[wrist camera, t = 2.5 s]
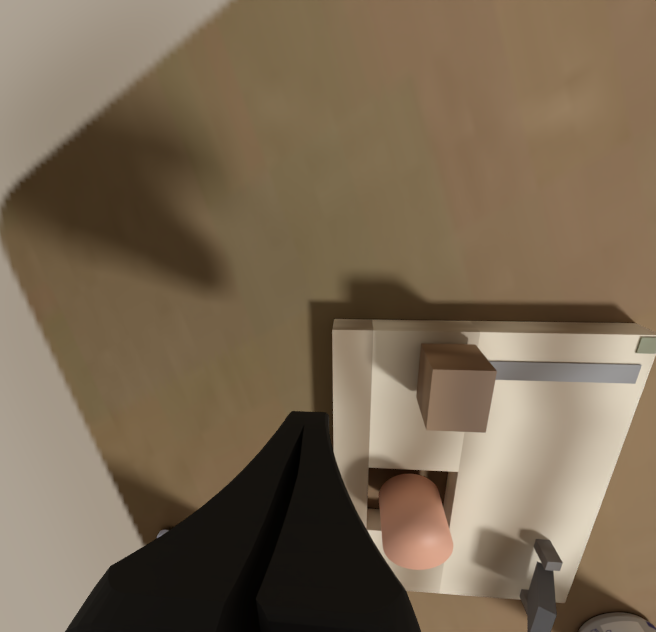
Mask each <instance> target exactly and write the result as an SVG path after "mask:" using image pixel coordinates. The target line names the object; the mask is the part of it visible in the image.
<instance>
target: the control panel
mask: <svg viewBox="0 0 656 632" xmlns="http://www.w3.org/2000/svg"><path fill="white" fill-rule="evenodd" d="M421 343H428V344H476V346H477V347H478V348H479V349H480V351H481V352H482V353H483V354H484V356H485V357H486V358H487V359H488V361H489V362H490V363H491V364H492V365H493V367H494V368H495V369H496V370H497V374H496V379H495V385H494V390H493V396H492V401H491V407H490V412H489V417H488V423H487V428H486V433H480V432H455V431H430V430H426V428H425V425H424V421H423V418H422V415H421V411H420V408H419V405H418V401H417V398H416V394H417V383H418V372H419V361H420V350H421ZM332 353H333V443H334V455H335V459H336V462H337V465H338V468H339V471H340V474H341V476H342V479H343V482H344V484H345V487H346V489H347V491H348V494H349V496H350V498H351V500H352V502H353V504H354V506H355V509H356V511H357V513H358V515H359V517H360V518H361V520H362V522H363V524H364V525H365V527H366V529H367V531H368V533H369V534H370V536H371V538H372V540H373V542H374V543H375V545H376V546H377V548H378V550H379V551H380V553H381V554H382V556H383V558H384V559H385V561H386V562H387V564H388V565H389V567H390V568H391V569H392V571H393V572H394V574H395V575H396V577H397V578H398V579H399V581H400V582H401V584H402V585H403V586H404V588H405V590H406V591H416V592H429V593H442V594H455V595H467V596H480V597H493V598H506V599H518V600H521V601H522V604H523V606H524V608H525V611H526V613H527V616H528V609H527V594H528V590H529V587H530V584H531V580H532V577H533V574H534V570H535V567H536V564H537V562H540V563H542V565H543V567H544V569H545V570H551V571H553V572H554V586H555V600H556V602H557V603H565V601H566V599H567V596H568V593H569V590H570V588H571V585H572V582H573V579H574V577H575V574H576V571H577V569H578V566H579V563H580V560H581V558H582V555H583V552H584V549H585V547H586V544H587V541H588V539H589V536H590V533H591V530H592V528H593V525H594V522H595V519H596V517H597V514H598V511H599V508H600V506H601V503H602V500H603V498H604V495H605V492H606V489H607V487H608V484H609V481H610V478H611V476H612V473H613V470H614V467H615V465H616V462H617V459H618V457H619V454H620V451H621V448H622V446H623V443H624V440H625V437H626V435H627V432H628V429H629V426H630V424H631V421H632V418H633V416H634V413H635V410H636V407H637V405H638V402H639V399H640V396H641V394H642V391H643V388H644V386H645V383H646V380H647V377H648V375H649V372H650V369H651V366H652V364H653V361H654V358H655V355H656V332H655V331H652V330H650V329H648V328H646V327H644V326H641V325H639V324H637V323H587V322H515V321H443V320H372V319H334V323H333V328H332ZM369 468H389V469H409V470H430V471H448V476H447V483H446V490H445V497H444V504H443V508H444V512H445V516H446V519H447V523H448V526H449V530H450V533H451V537H452V540H453V552H452V554H451V556H450V557H449V558H448V559H447V560H446V561H445V562H444V563H442V564H441V565H439V566H437V567H434V568H430V569H425V570H413V569H407V568H403V567H401V566H398V565H396V564H395V563H393V562H392V561H391V560H389V559H388V557H387V556H386V555H385V553H384V551H383V545H382V532H381V519H380V509H367V498H368V470H369Z"/></svg>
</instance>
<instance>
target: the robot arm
mask: <svg viewBox="0 0 656 632" xmlns="http://www.w3.org/2000/svg"><path fill="white" fill-rule="evenodd" d="M65 632H421V630H420V627H419V624H418V621H417V618H416V616H415V613H414V610H413V608H412V605H411V603H410V600H409V597H408V595H407V592H406V590H405V588H404V586H403V585H402V584H401V582H400V581H399V579H398V578H397V577H396V575H395V574H394V572H393V571H392V569H391V568H390V567H389V565H388V564H387V562H386V561H385V559H384V558H383V556H382V554H381V553H380V551H379V550H378V548H377V546H376V545H375V543H374V542H373V540H372V538H371V536H370V534H369V533H368V531H367V529H366V527H365V525H364V524H363V522H362V520H361V518H360V517H359V515H358V513H357V511H356V509H355V506H354V504H353V502H352V500H351V498H350V496H349V494H348V491H347V489H346V487H345V484H344V482H343V479H342V476H341V474H340V471H339V468H338V465H337V462H336V459H335V455H334V452H333V448H332V444H331V440H330V434H329V415H328V414H327V413H326V412H300V411H292V412H291V413H290V414H289V415H288V416H287V418H286V419H285V421H284V422H283V423H282V425H281V426H280V427H279V429H278V430H277V431H276V433H275V434H274V435H273V436H272V438H271V439H270V440H269V441H268V442H267V444H266V445H265V446H264V447H263V449H262V450H261V451H260V452H259V453H258V454H257V455H256V456H255V458H254V459H253V460H252V461H251V462H250V463H249V464H248V465H247V466H246V467H245V468H244V469H243V470H242V471H241V472H240V473H239V474H238V475H237V476H236V477H235V478H234V479H233V480H232V481H231V482H230V483H229V484H228V485H227V486H226V487H225V488H223V489H222V490H221V491H220V492H219V493H218V494H217V495H215V496H214V497H213V498H212V499H211V500H209V501H208V502H207V503H206V504H205V505H203V506H202V507H201V508H200V509H198V510H197V511H196V512H194V513H193V514H192V515H190V516H189V517H188V518H186V519H185V520H183V521H182V522H181V523H179V524H178V525H176V526H175V527H173V528H172V529H171V530H161V531H160V532H159V534H158V535H157V539H155V540H154V541H152V542H151V543H149V544H147V545H146V546H144V547H142V548H141V549H139V550H137V551H136V552H134V553H132V554H130V555H129V556H127V557H125V558H124V559H122V560H120V561H119V562H117V563H115V564H113V565H111V566H110V567H109V569H108V570H107V571H106V573H105V574H104V575H103V577H102V578H101V579H100V581H99V582H98V583H97V585H96V586H95V587H94V589H93V590H92V592H91V594H90V595H89V596H88V598H87V599H86V601H85V602H84V604H83V605H82V607H81V608H80V610H79V611H78V613H77V615H76V616H75V617H74V619H73V620H72V622H71V624H70V625H69V627H68V628H67V630H66V631H65Z"/></svg>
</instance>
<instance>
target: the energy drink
mask: <svg viewBox="0 0 656 632" xmlns="http://www.w3.org/2000/svg"><path fill="white" fill-rule="evenodd" d="M579 632H656V628H655V627H654V625H652V624H651V623H650V622H648V621H647V620H645V619H643V618H641V617H639V616H637V615H634V614H630V613H623V612H614V613H606V614H602V615H599V616H596V617H593V618H591V619H589V620H588V621H587V622H585V623H584V624H583V625H582V626H581V628H580V629H579Z"/></svg>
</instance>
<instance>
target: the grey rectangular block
mask: <svg viewBox="0 0 656 632" xmlns="http://www.w3.org/2000/svg"><path fill="white" fill-rule="evenodd" d="M527 609H528V632H551V629H552V627H553V624H554V621H555V618H556V615H557V613H556V600H555V586H554V572H553V571H551V570H545V569H544V567H543V565H542V563H540V562H537V564H536V567H535V570H534V574H533V577H532V580H531V584H530V587H529V590H528V594H527Z"/></svg>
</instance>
